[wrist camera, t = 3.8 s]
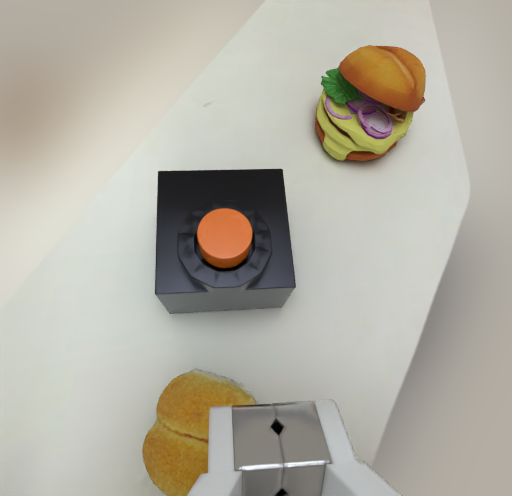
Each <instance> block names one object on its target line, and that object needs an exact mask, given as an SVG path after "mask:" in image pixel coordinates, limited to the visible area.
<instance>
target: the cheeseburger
mask: <svg viewBox="0 0 512 496" xmlns="http://www.w3.org/2000/svg"><path fill="white" fill-rule="evenodd" d="M326 74H327V75H328V76H329V78H328V77H323V76H322V77H321V78H323V79H322V82H321V85H323V86H324V89H323V91H322V95H321V97H320V101H319V104H318V107H317V110H316V130H317V133H318V135H319V137H320V140H321V142H322V143H323V147H324V148H325V150H326V151H327V152H328V153H329V155H330V156H331V157H333V158H335V159H337V160H345V158H346V159H348V160H360V161H367V160H371V159H376V158H380V157H381V156H383V155H384V154H386V153H387V152H389V151H390V150H391V149H392V148H393V147H394V146H396V143H397V141H398V140H399V139H400V138H402V137H403V136H405V135H406V132H407V130H408V127H409V125H410V123H411V122H412V117H413V112H414V111H416V110H418V109H419V107H420V105H421V104H423V103H424V102H425V99H424V97H423V95H424V92H425V77H426V76H425V69H424V67H423V65H422V63H421V61H420V60H419V59H418V58H417V57H416V56H415V55H413V54H412V53H410V52H408V51H407V50H404V49H402V48H398V47H390V46H371V45H368V46H365V47H361V48H359V49H357V50H356V51H354V52H352V53H351V54H349V55H348V56H347V57H346V58H345V59H344V60H343V61H342V62H341V63H340V65H339V67H338V68H337V69H333V70H329V71H327V72H326Z"/></svg>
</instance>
